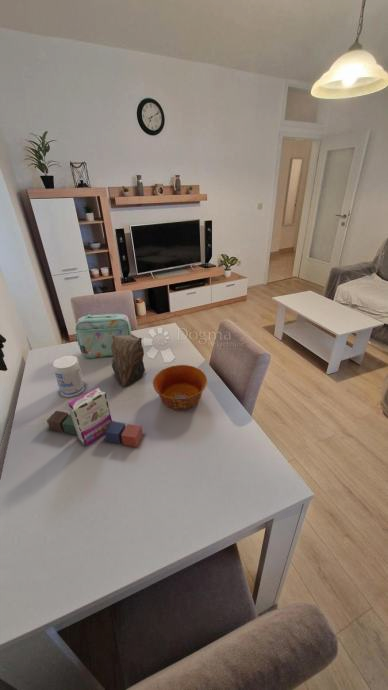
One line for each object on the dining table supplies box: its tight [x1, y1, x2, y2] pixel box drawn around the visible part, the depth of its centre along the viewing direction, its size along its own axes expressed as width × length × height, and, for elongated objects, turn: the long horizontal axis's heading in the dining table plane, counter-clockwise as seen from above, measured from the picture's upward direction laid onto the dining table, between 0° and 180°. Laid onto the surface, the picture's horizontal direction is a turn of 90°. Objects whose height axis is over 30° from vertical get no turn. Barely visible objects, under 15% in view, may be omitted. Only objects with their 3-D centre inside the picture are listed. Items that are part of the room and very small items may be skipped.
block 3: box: [104, 420, 127, 445], centre depth 94 cm, size 5×5×5 cm
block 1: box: [46, 410, 70, 433], centre depth 98 cm, size 5×5×5 cm
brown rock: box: [111, 333, 146, 388], centre depth 120 cm, size 13×13×20 cm
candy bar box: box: [67, 386, 113, 446], centre depth 92 cm, size 11×5×16 cm, turn 137°
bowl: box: [152, 364, 208, 411], centre depth 109 cm, size 21×21×10 cm
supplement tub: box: [52, 355, 85, 398], centre depth 113 cm, size 10×10×15 cm
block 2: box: [62, 413, 78, 436], centre depth 97 cm, size 5×5×5 cm
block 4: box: [121, 423, 144, 448], centre depth 92 cm, size 5×5×5 cm
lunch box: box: [74, 313, 132, 359], centre depth 138 cm, size 27×10×21 cm, turn 102°
